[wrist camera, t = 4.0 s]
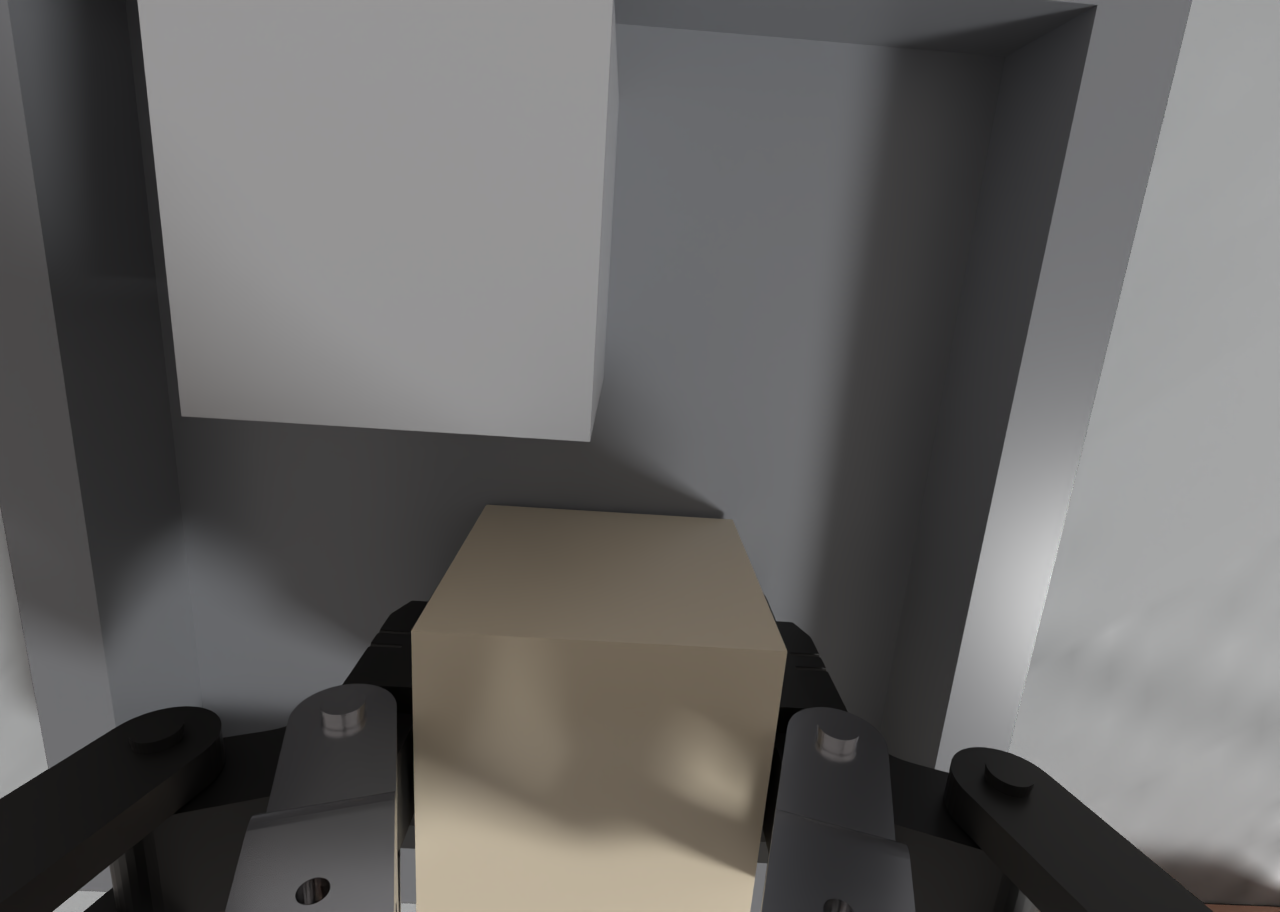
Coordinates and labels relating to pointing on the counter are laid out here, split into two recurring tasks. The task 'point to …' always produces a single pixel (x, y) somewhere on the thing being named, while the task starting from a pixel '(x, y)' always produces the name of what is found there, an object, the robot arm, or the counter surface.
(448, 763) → the beige cube
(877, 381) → the bin
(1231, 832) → the counter surface
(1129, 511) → the counter surface
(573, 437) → the light gray cube
